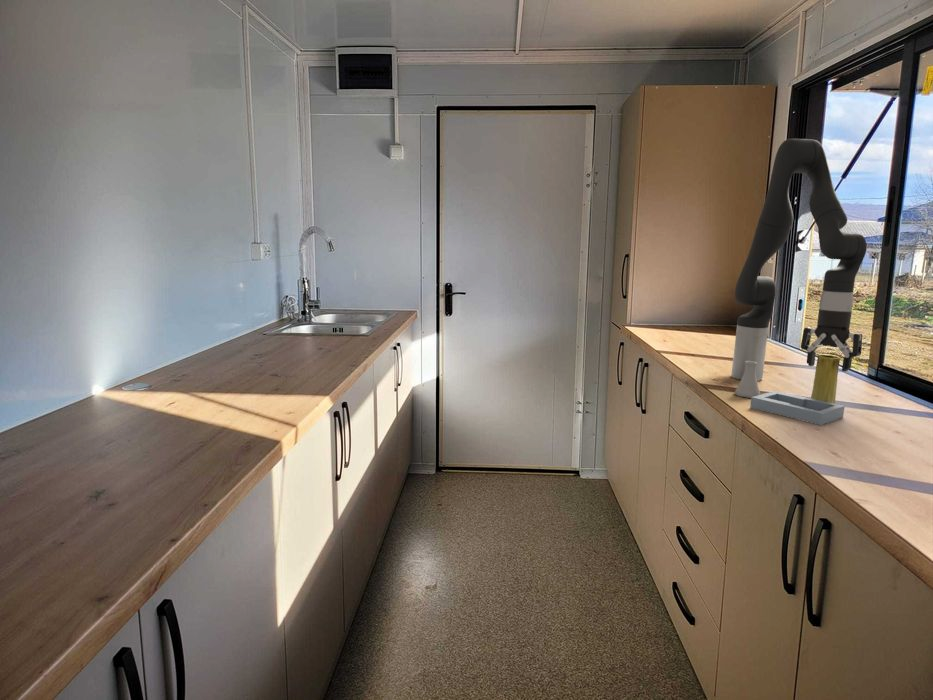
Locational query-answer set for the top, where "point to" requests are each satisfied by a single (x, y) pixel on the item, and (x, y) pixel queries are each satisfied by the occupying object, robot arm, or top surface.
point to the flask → (748, 382)
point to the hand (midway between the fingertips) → (827, 368)
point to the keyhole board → (797, 407)
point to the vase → (826, 378)
